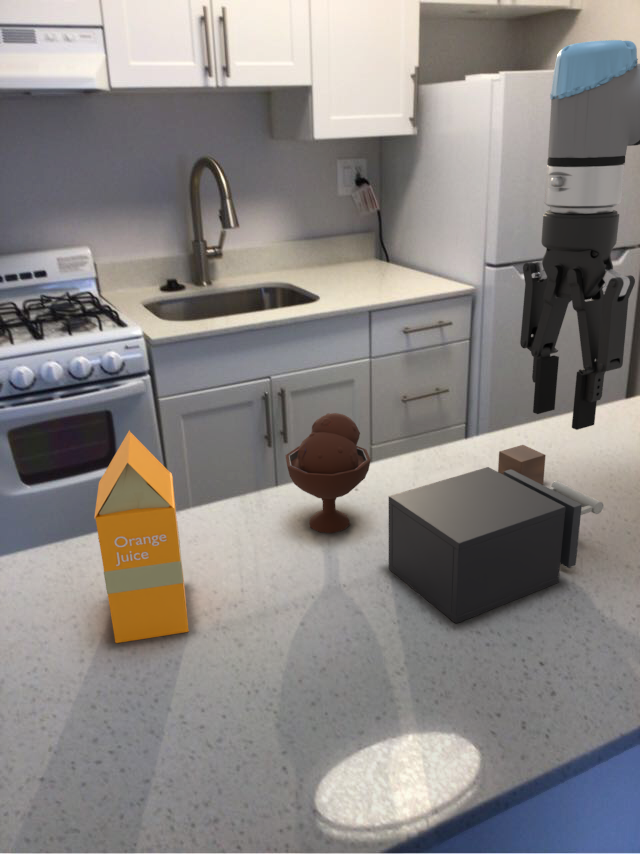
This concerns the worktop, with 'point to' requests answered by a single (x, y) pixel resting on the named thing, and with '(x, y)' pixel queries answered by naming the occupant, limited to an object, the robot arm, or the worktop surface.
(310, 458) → the ice cream bowl
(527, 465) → the block
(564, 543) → the dark grey drawer
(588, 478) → the worktop surface
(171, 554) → the orange juice
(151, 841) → the worktop surface
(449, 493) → the dark grey cuboid
